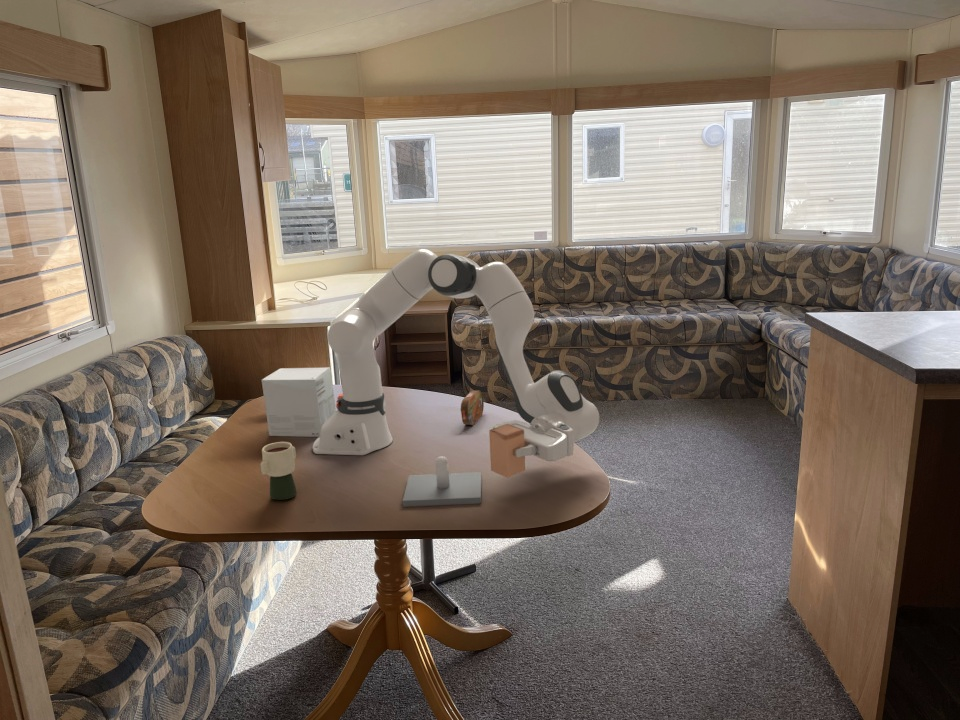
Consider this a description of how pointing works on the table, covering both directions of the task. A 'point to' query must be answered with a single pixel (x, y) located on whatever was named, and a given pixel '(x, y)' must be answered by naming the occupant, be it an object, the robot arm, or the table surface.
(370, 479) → the table surface
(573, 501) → the table surface
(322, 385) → the supplement box
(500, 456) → the tall lidded tan box
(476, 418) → the tin
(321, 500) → the table surface
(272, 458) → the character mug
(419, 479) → the base
